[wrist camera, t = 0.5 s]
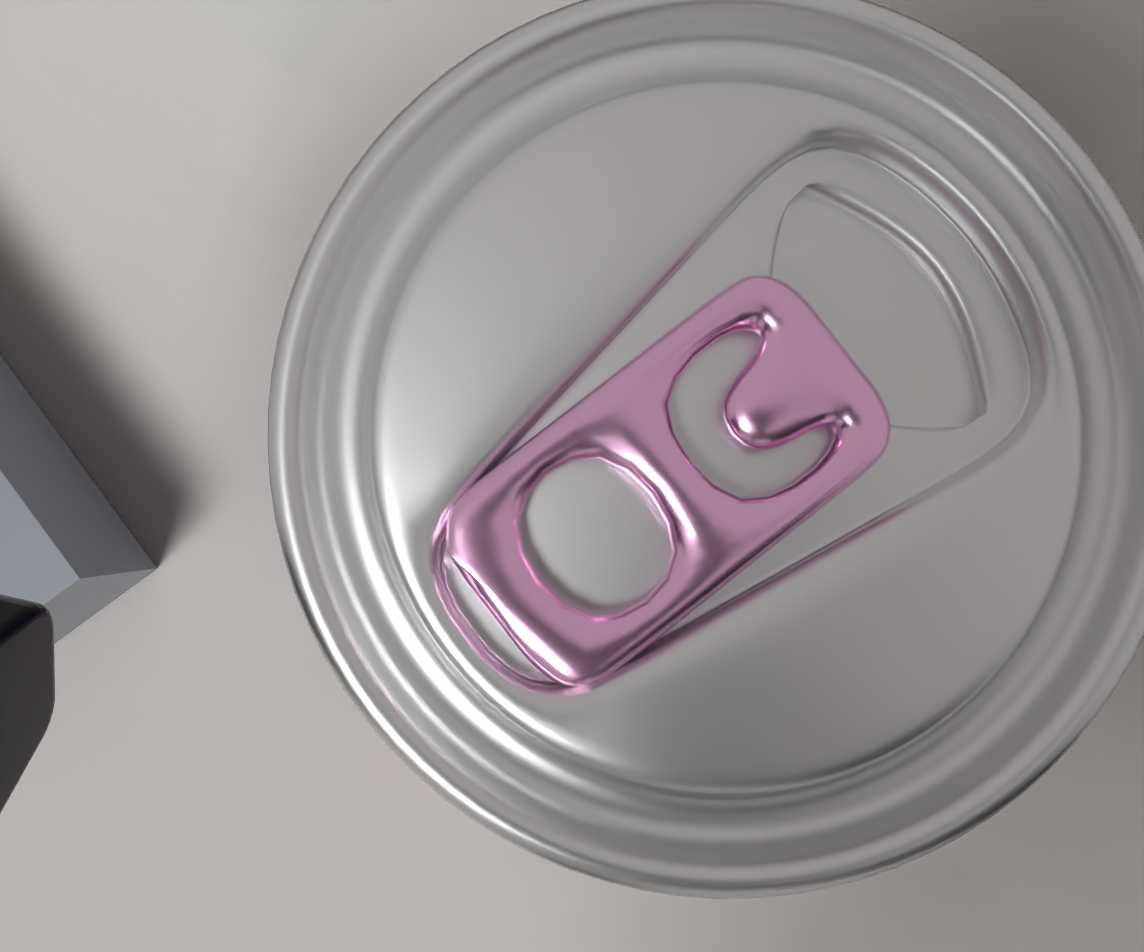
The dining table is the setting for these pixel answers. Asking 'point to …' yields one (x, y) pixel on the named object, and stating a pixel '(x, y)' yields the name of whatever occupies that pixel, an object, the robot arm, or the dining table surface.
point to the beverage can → (719, 441)
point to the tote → (56, 520)
